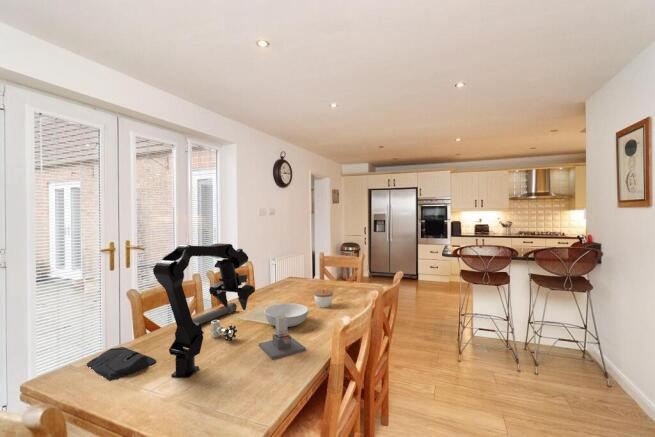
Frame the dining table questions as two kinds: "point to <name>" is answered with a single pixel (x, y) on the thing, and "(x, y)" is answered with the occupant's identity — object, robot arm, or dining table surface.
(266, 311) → the serving bowl
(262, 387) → the dining table surface
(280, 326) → the block
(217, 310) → the flashlight
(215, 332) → the valve
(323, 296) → the lidded jar
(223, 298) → the robot arm
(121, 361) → the dark slate chunk
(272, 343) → the jack stand base
